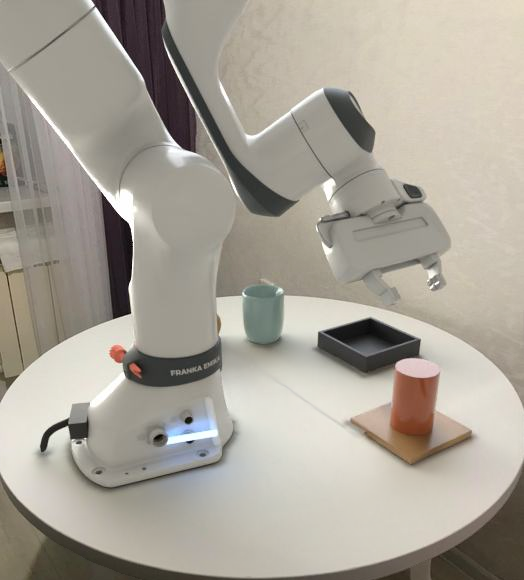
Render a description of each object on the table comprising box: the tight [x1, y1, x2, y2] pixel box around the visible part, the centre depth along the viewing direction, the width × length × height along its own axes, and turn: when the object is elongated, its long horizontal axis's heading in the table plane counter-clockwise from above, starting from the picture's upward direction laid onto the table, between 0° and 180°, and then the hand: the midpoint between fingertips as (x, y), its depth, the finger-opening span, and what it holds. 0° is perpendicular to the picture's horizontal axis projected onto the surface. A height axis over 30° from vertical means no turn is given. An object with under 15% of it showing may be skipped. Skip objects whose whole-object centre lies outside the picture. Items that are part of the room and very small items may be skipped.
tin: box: [317, 316, 422, 374], centre depth 107 cm, size 13×13×4 cm
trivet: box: [350, 401, 473, 465], centre depth 84 cm, size 12×12×1 cm
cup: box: [241, 284, 285, 345], centre depth 111 cm, size 8×8×10 cm
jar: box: [390, 357, 441, 435], centre depth 82 cm, size 6×6×9 cm
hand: (417, 295), depth 77 cm, fingers open, 8 cm apart
